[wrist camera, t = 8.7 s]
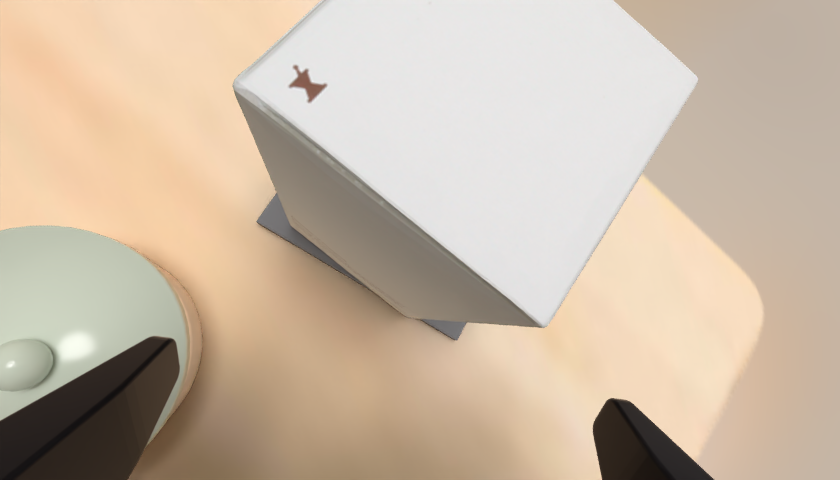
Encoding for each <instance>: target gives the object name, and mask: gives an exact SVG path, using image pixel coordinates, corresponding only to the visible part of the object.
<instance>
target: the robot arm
mask: <svg viewBox="0 0 840 480" xmlns="http://www.w3.org/2000/svg"><path fill="white" fill-rule="evenodd" d="M179 372H180V364H179V357H178V350H177V344H176V341H175V340H174V339H173V338H168V337H161V336H151V337H148V338H146V339H144V340H143V341H141V342H139V343H137V344H136V345H134V346H132V347H130V348H128V349H127V350H125V351H123V352H121V353H119V354H118V355H116V356H114V357H112V358H111V359H109V360H107V361H105V362H103V363H102V364H100V365H98V366H96V367H95V368H93V369H91V370H89V371H87V372H86V373H84V374H82V375H80V376H79V377H77V378H75V379H73V380H71V381H70V382H68V383H66V384H64V385H63V386H61V387H59V388H57V389H55V390H54V391H52V392H50V393H48V394H47V395H45V396H43V397H41V398H39V399H38V400H36V401H34V402H32V403H30V404H29V405H27V406H25V407H23V408H22V409H20V410H18V411H16V412H14V413H13V414H11V415H9V416H7V417H6V418H4V419H2V420H0V480H127V479H128V478H129V476H130V474H131V473H132V471H133V469H134V467H135V466H136V464H137V462H138V460H139V459H140V457H141V455H142V453H143V451H144V449H145V447H146V445H147V443H148V441H149V439H150V437H151V435H152V433H153V430H154V428H155V426H156V424H157V422H158V420H159V418H160V416H161V413H162V411H163V409H164V407H165V405H166V403H167V401H168V399H169V396H170V394H171V392H172V390H173V388H174V386H175V384H176V382H177V379H178V376H179ZM593 436H594V441H595V446H596V451H597V456H598V461H599V466H600V471H601V476H602V480H714V479H713V478H712V477H711V476H710V475H709V474H707V473H706V472H705V471H704V470H703V469H702V468H701V467H700V466H699V465H698V464H697V463H696V462H695V461H694V460H693V459H691V458H690V457H689V456H688V455H687V454H686V453H685V452H684V451H683V450H682V449H681V448H680V447H679V446H678V445H676V444H675V443H674V442H673V441H672V440H671V439H670V438H669V437H668V436H667V435H666V434H665V433H664V432H663V431H661V430H660V429H659V428H658V427H657V426H656V425H655V424H654V423H653V422H652V421H651V420H650V419H649V418H648V417H646V416H645V415H644V414H643V413H642V412H641V411H640V410H639V409H638V408H637V407H636V406H635V405H634V404H632V403H631V402H630V401H627V400H622V399H615V398H610V399H608V400H607V401H606V403H605V404H604V406H603V407H602V409H601V411H600V412H599V414H598V416H597V417H596V419H595V421H594V424H593Z"/></svg>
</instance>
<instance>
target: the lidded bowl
mask: <svg viewBox="0 0 840 480" xmlns="http://www.w3.org/2000/svg"><path fill="white" fill-rule="evenodd" d="M151 336H161V337H168V338H173V339H174V340H175V341H176V344H177V350H178V357H179V364H180V372H179V376H178V379H177V382H176V384H175V386H174V388H173V390H172V392H171V394H170V396H169V399H168V401H167V403H166V405H165V407H164V409H163V411H162V413H161V416H160V418H159V420H158V422H157V424H156V426H155V428H154V430H153V433H152V435H151V437H150V439H149V441H148V443H147V445H148V444H149V443H150V442H151V441H152V440H153V439H154V438H155V436H156V435H157V434H158V432H159V431H160V430H161V428H162V427H163V426H164V425H165V423H166V421H167V420H168V418H169V417H170V416H171V415H172V414H173V413H174V412H175V411H176V409H177V408H178V407H179V405H180V404H181V403H182V401H183V400H184V398H185V397H186V395H187V393H188V392H189V390H190V388H191V386H192V384H193V382H194V379H195V377H196V375H197V371H198V368H199V364H200V360H201V354H202V329H201V322H200V319H199V315H198V312H197V309H196V307H195V305H194V303H193V300H192V299H191V297H190V296H189V294H188V293H187V291H186V290H185V288H184V287H183V286H182V285H181V284H180V283H179V281H178V280H177V279H175V278H174V277H173V276H172V275H171V274H170V273H169V272H167V271H166V270H164V269H163V268H161V267H160V266H158V265H156V264H154V263H152V262H151V261H150V260H149V259H148V258H146V257H145V256H144V255H142V254H141V253H139V252H138V251H136V250H135V249H133V248H131V247H129V246H127V245H125V244H123V243H121V242H119V241H117V240H114V239H111V238H108V237H105V236H102V235H100V234H96V233H93V232H90V231H86V230H81V229H76V228H71V227H61V226H26V227H19V228H11V229H6V230H1V231H0V420H2V419H4V418H6V417H7V416H9V415H11V414H13V413H14V412H16V411H18V410H20V409H22V408H23V407H25V406H27V405H29V404H30V403H32V402H34V401H36V400H38V399H39V398H41V397H43V396H45V395H47V394H48V393H50V392H52V391H54V390H55V389H57V388H59V387H61V386H63V385H64V384H66V383H68V382H70V381H71V380H73V379H75V378H77V377H79V376H80V375H82V374H84V373H86V372H87V371H89V370H91V369H93V368H95V367H96V366H98V365H100V364H102V363H103V362H105V361H107V360H109V359H111V358H112V357H114V356H116V355H118V354H119V353H121V352H123V351H125V350H127V349H128V348H130V347H132V346H134V345H136V344H137V343H139V342H141V341H143V340H144V339H146V338H148V337H151ZM147 445H146V446H147Z"/></svg>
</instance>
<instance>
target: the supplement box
mask: <svg viewBox="0 0 840 480" xmlns="http://www.w3.org/2000/svg"><path fill="white" fill-rule="evenodd" d="M697 82H698V77H697V76H696V75H695V74H694V73H693V72H692V71H690V70H689V69H688V68H687V67H686V66H685V65H684V64H683V63H682V62H681V61H679V59H678V58H676V57H675V56H674V55H673V54H672V53H671V52H670V51H669V50H668V49H667V48H666V47H665V46H663V45H662V44H661V43H660V42H659V41H658V40H657V39H656V38H654V36H652V35H651V34H650V33H649V32H648V31H647V30H645V28H643V27H642V26H641V25H640V24H638V22H636V21H635V20H634V19H633V18H632V17H631V16H630V15H629V14H627V13H626V12H625V11H624V10H623V9H622V8H621V7H620V6H619V5H618V4H617V3H615V2H614V1H613V0H321V1H320V2H319V3H318V4H317V5H316V6H315V7H314V8H313V9H312V10H310V11H309V12H308V13H307V14H306V15H305V16H304V17H303V18H302V19H301V20H300V21H299V22H298V23H296V24H295V25H294V26H293V27H292V28H291V29H290V30H289V31H288V32H287V33H286V34H285V35H283V36H282V37H281V38H280V39H279V40H278V41H277V42H276V43H275V44H274V45H273V46H271V47H270V48H269V49H268V50H267V51H266V52H265V53H264V54H263V55H262V56H261V57H260V58H259V59H257V60H256V61H255V62H254V63H253V64H252V65H251V66H249V67H248V68H247V69H245V70H244V71H243V72H242V73H241V74H240V75H239V76H238V77H237V78H236V79H235V80H234V83H233V89H234V92H235V96H236V98H237V100H238V103H239V105H240V107H241V109H242V112H243V114H244V116H245V118H246V121H247V123H248V125H249V128H250V130H251V133H252V135H253V137H254V140H255V142H256V145H257V147H258V149H259V152H260V154H261V156H262V159H263V161H264V163H265V166H266V168H267V171H268V173H269V175H270V178H271V180H272V182H273V185H274V187H275V190H276V192H277V194H278V197H279V199H280V202H281V204H282V206H283V209H284V211H285V214H286V216H287V218H288V221H289V223H290V225H291V226H292V227H293V228H294V229H296V230H297V231H298V232H299V233H301V234H302V235H303V236H304V237H306V238H307V239H308V240H309V241H311V242H312V243H313V244H314V245H316V246H317V247H318V248H319V249H321V250H322V251H323V252H324V253H326V254H327V255H328V256H329V257H331V258H332V259H333V260H334V261H335V262H337V263H338V264H339V265H340V266H342V267H343V268H344V269H345V270H347V271H348V272H349V273H350V274H352V275H353V276H354V277H356V278H357V279H358V280H359V281H361V282H362V283H363V284H364V285H366V286H367V287H368V288H370V289H371V290H372V291H373V292H375V293H376V294H377V295H378V296H380V297H381V298H382V299H383V300H385V301H386V302H387V303H389V304H390V305H391V306H392V307H394V308H395V309H396V310H398V311H399V312H400V313H402V314H403V315H404V316H405V317H408V318H418V319H432V320H446V321H456V322H469V323H487V324H498V325H513V326H525V327H539V328H545V327H547V326H548V324H549V323H550V322H551V320H552V319H553V317H554V316H555V314H556V312H557V311H558V309H559V307H560V306H561V304H562V302H563V301H564V299H565V297H566V295H567V294H568V292H569V290H570V289H571V287H572V286H573V284H574V283H575V281H576V280H577V278H578V276H579V275H580V273H581V272H582V270H583V268H584V267H585V265H586V263H587V262H588V260H589V259H590V257H591V255H592V254H593V252H594V251H595V249H596V247H597V246H598V244H599V242H600V241H601V239H602V238H603V236H604V234H605V233H606V231H607V230H608V228H609V226H610V225H611V223H612V221H613V220H614V218H615V216H616V215H617V213H618V212H619V210H620V208H621V207H622V205H623V203H624V202H625V200H626V199H627V197H628V195H629V194H630V192H631V190H632V189H633V187H634V186H635V184H636V182H637V181H638V179H639V177H640V176H641V174H642V172H643V171H644V169H645V168H646V166H647V164H648V163H649V161H650V159H651V158H652V156H653V155H654V153H655V151H656V150H657V148H658V146H659V145H660V143H661V142H662V140H663V138H664V137H665V135H666V133H667V132H668V130H669V128H670V127H671V125H672V124H673V122H674V120H675V119H676V117H677V115H678V114H679V112H680V111H681V109H682V107H683V106H684V104H685V102H686V100H687V99H688V97H689V96H690V94H691V93H692V91H693V90H694V88H695V87H696V85H697Z"/></svg>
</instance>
